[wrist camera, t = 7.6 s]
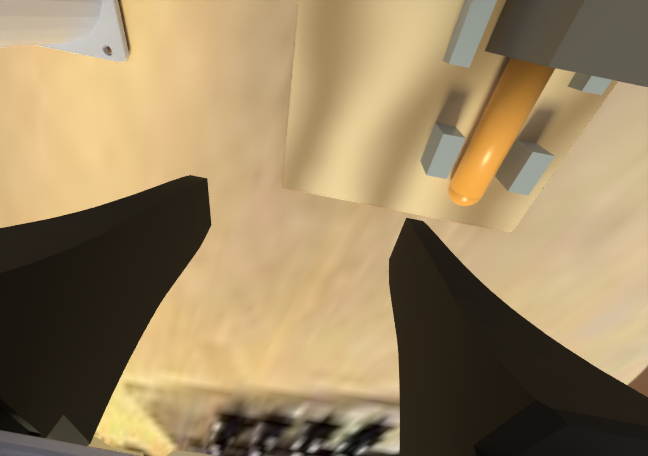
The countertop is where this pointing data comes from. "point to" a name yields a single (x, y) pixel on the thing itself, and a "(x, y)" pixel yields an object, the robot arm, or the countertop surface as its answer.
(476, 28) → the holder
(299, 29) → the board
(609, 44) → the plug
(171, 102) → the countertop surface
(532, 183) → the clip
